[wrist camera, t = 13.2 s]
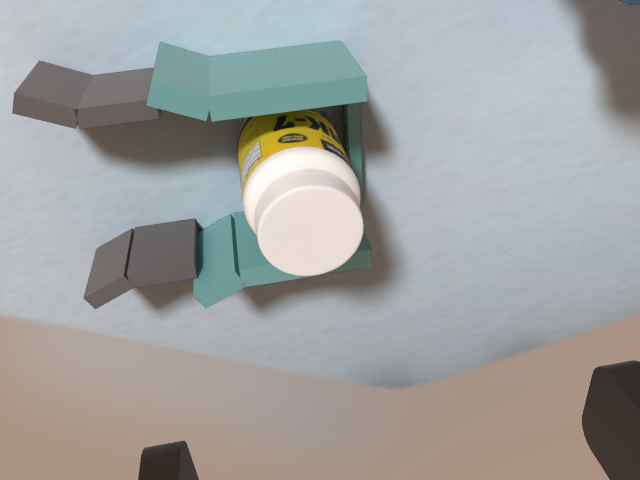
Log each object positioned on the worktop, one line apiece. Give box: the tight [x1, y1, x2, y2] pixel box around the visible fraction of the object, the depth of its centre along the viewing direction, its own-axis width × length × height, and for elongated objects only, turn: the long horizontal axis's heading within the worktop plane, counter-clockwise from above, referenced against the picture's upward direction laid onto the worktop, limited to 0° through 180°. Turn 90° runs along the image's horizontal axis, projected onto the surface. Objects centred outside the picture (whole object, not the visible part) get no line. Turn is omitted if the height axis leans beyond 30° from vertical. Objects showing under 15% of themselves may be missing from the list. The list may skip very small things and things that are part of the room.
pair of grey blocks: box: [12, 61, 198, 309], centre depth 26 cm, size 5×10×4 cm, turn 4°
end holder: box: [147, 41, 372, 308], centre depth 26 cm, size 9×11×5 cm
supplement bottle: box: [237, 108, 364, 276], centre depth 25 cm, size 5×5×8 cm
